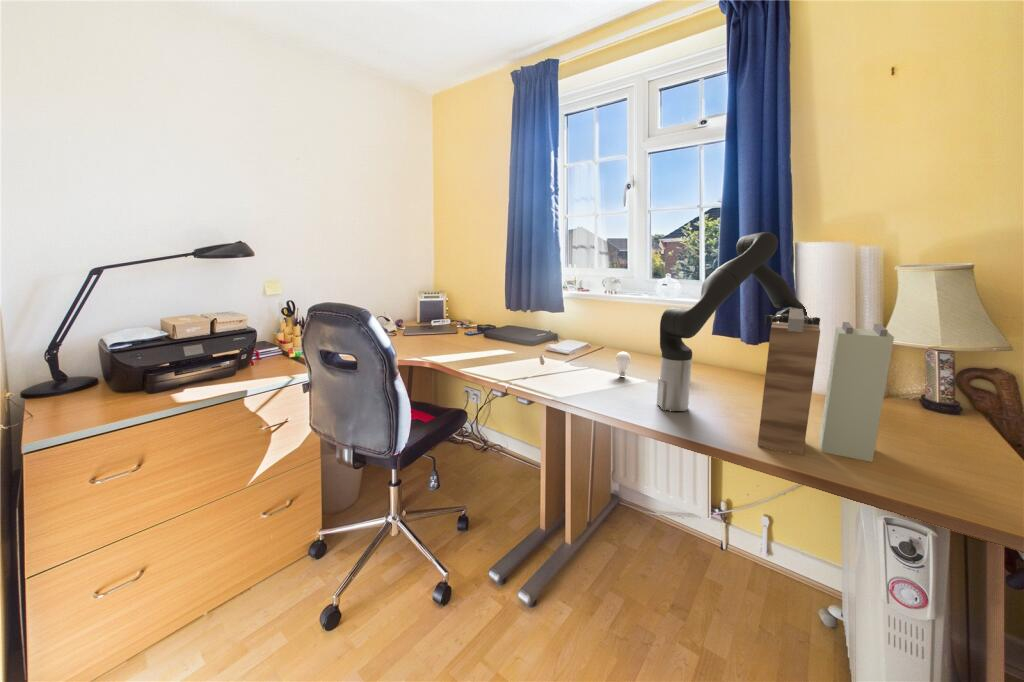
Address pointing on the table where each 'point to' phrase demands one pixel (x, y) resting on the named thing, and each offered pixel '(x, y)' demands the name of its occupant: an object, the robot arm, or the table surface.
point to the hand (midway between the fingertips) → (791, 321)
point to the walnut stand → (788, 387)
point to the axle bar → (796, 320)
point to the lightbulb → (622, 362)
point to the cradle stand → (855, 391)
